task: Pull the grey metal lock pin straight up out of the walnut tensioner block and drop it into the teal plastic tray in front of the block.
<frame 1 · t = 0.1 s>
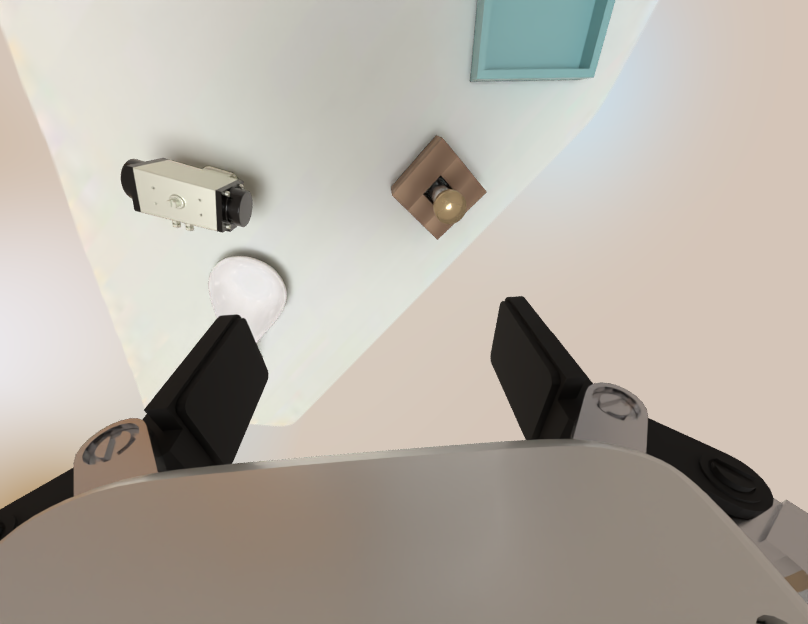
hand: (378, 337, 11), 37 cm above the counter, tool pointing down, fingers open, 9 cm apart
tray: (539, 0, 32), on the counter
spoon rest: (255, 308, 53), on the counter
lock pin: (441, 195, 37), in the tensioner block
pneumatic valve: (223, 184, 41), on the counter
tensioner block: (434, 185, 42), on the counter
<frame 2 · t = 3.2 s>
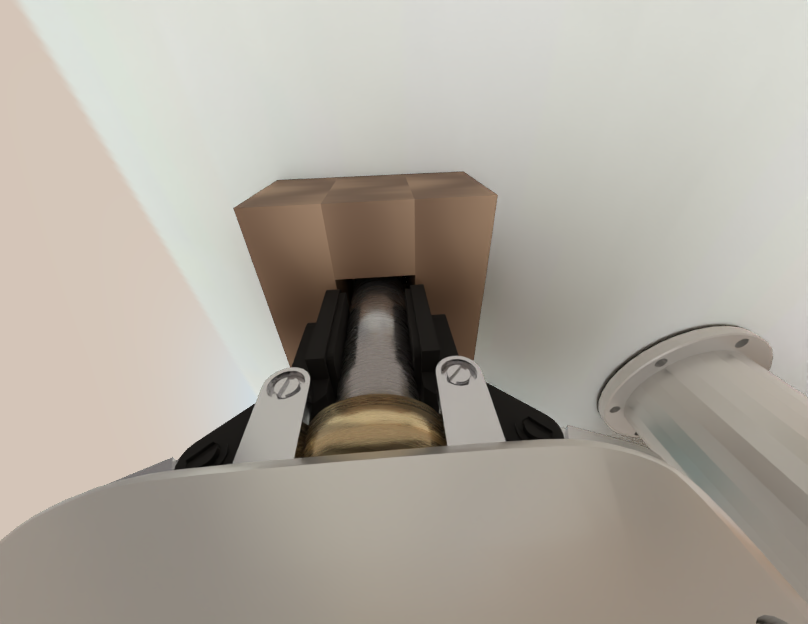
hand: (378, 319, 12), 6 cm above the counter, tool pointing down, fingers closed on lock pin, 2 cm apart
lock pin: (378, 325, 11), in the tensioner block, touching gripper
tensioner block: (378, 261, 16), on the counter
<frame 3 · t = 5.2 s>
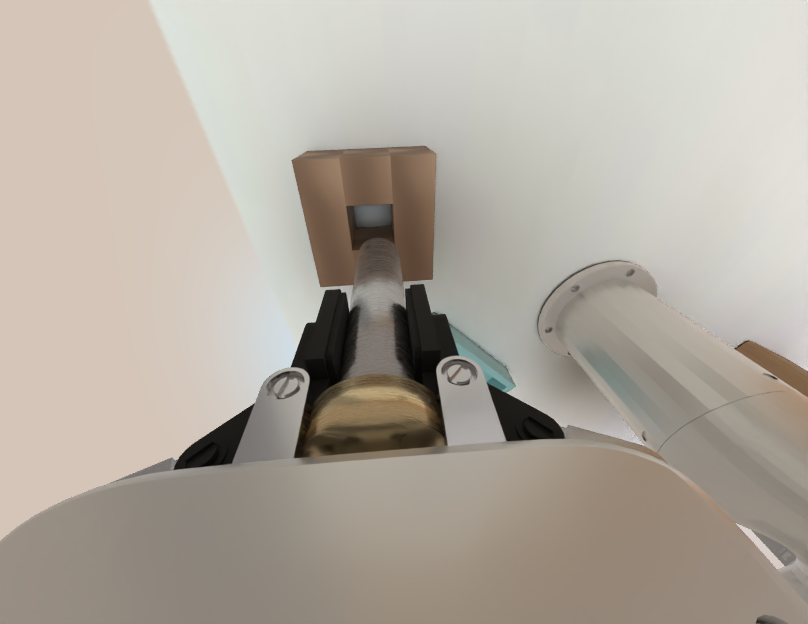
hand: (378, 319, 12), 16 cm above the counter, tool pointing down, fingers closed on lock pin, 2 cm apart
tray: (431, 374, 37), on the counter
lock pin: (378, 317, 12), point 16 cm above the counter, touching gripper
tensioner block: (372, 208, 25), on the counter
skincare box: (717, 462, 60), on the counter
wooden block: (730, 371, 42), on the counter
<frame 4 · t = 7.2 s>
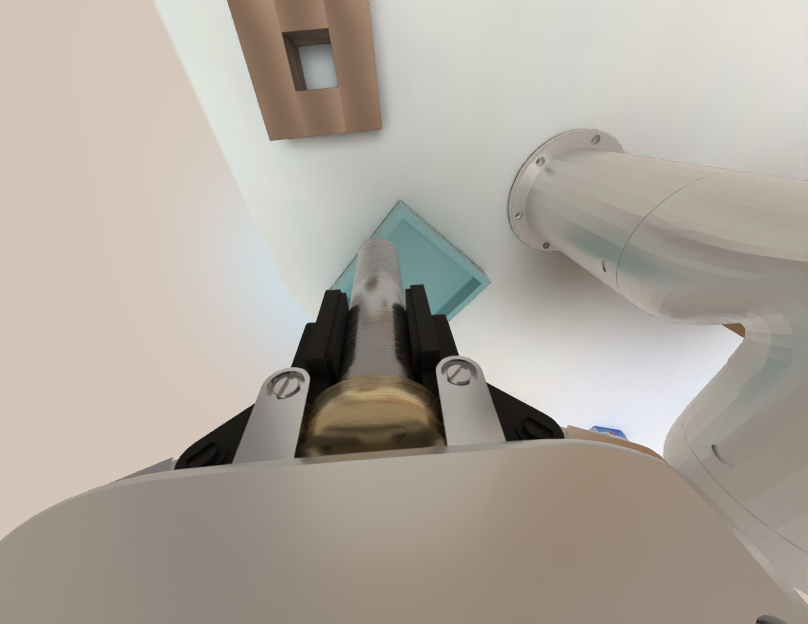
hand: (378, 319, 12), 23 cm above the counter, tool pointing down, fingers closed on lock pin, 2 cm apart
tray: (406, 280, 37), on the counter
medicine box: (599, 433, 63), on the counter
lock pin: (377, 317, 12), point 23 cm above the counter, touching gripper
tensioner block: (321, 69, 25), on the counter
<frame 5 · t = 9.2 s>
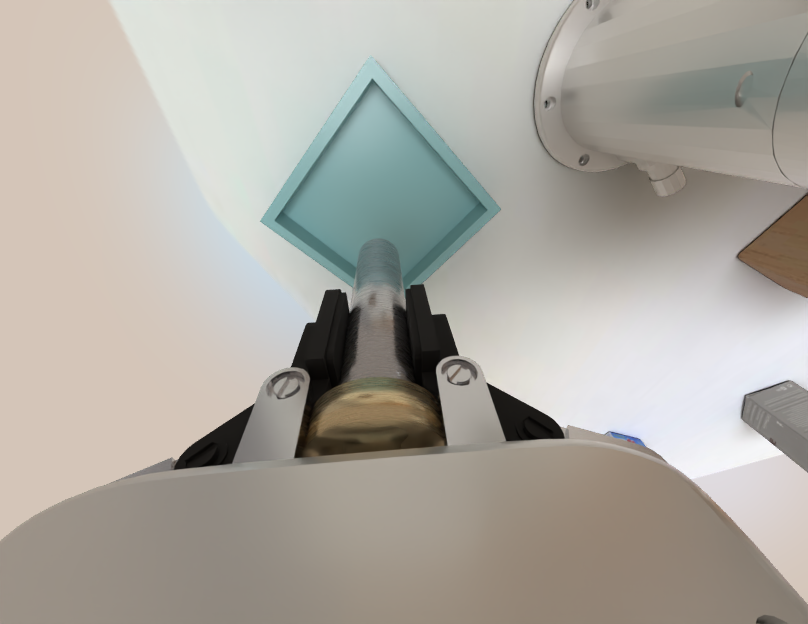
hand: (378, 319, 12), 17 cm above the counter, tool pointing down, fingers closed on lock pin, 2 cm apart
tray: (382, 205, 26), on the counter
lock pin: (378, 318, 12), point 17 cm above the counter, touching gripper
skincare box: (764, 398, 48), on the counter
wooden block: (804, 232, 31), on the counter
when the fingers open (8 cm above the counter, at t = 11.0 s): lock pin drops 1 cm, resting on tray.
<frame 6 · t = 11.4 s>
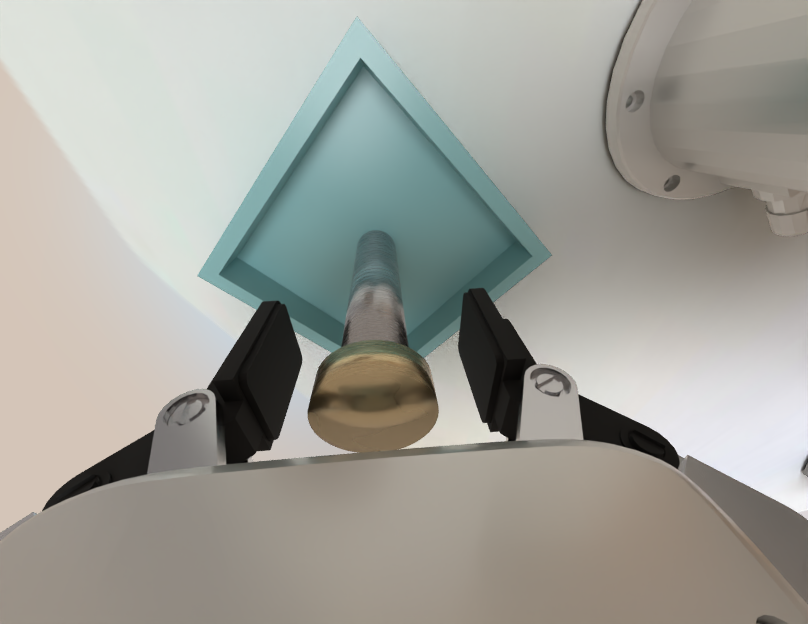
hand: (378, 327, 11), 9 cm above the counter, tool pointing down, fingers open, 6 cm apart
tray: (379, 245, 19), on the counter
lock pin: (375, 300, 13), in the tray, point 7 cm above the counter
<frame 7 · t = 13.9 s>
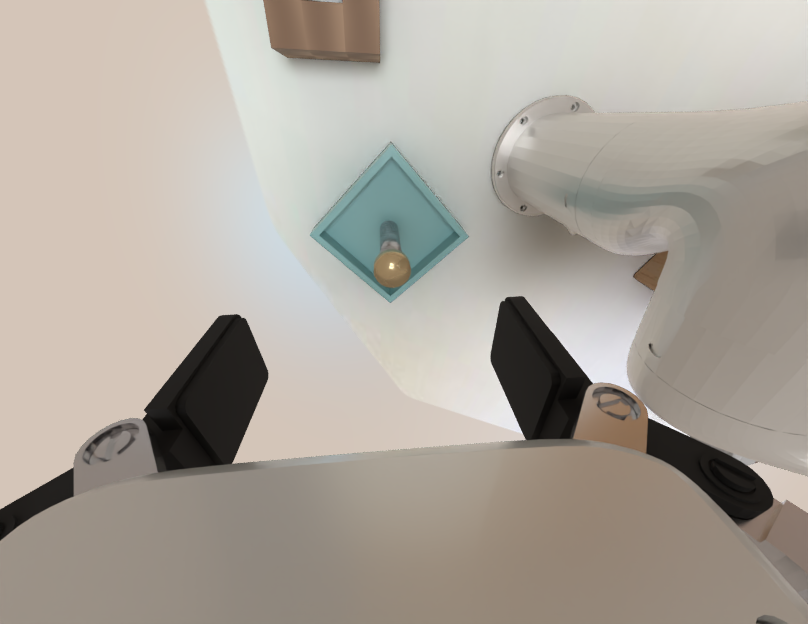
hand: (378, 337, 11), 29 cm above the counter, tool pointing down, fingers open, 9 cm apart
tray: (390, 228, 38), on the counter
lock pin: (390, 247, 33), in the tray, point 7 cm above the counter
wooden block: (677, 262, 45), on the counter
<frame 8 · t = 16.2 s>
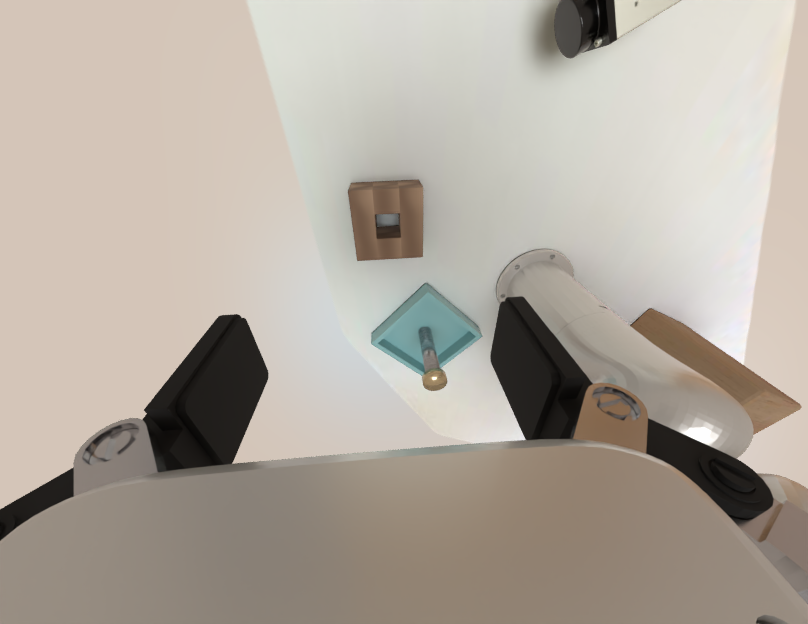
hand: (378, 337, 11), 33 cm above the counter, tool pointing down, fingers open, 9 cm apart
tray: (425, 329, 53), on the counter
lock pin: (429, 354, 48), in the tray, point 7 cm above the counter
pneumatic valve: (581, 8, 31), on the counter
tensioner block: (387, 215, 41), on the counter
wooden block: (644, 333, 58), on the counter
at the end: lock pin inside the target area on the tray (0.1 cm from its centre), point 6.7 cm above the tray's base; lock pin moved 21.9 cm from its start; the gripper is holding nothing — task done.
